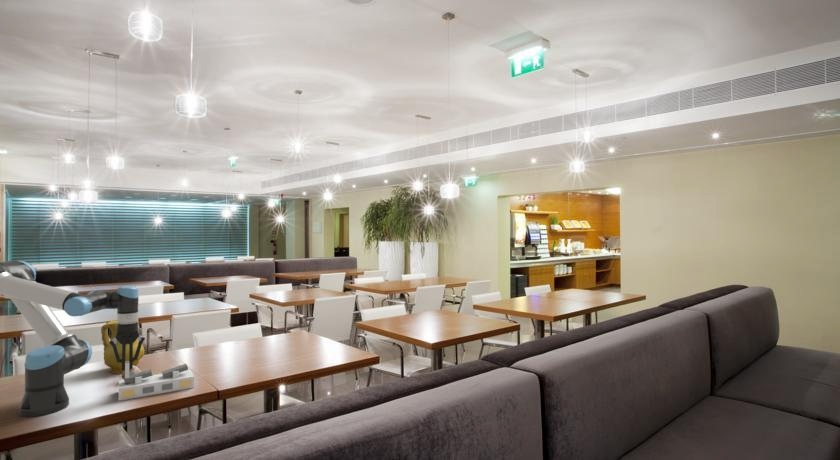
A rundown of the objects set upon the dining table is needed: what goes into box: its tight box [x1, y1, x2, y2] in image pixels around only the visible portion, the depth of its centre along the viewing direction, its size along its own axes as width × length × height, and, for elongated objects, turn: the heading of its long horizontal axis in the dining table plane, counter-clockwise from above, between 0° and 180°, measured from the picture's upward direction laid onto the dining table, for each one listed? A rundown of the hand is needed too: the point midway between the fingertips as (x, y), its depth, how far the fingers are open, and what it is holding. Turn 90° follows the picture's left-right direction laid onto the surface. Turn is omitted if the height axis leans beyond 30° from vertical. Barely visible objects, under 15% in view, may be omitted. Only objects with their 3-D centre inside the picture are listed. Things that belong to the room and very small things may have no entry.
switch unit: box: [118, 366, 195, 401], centre depth 193 cm, size 28×12×8 cm, turn 125°
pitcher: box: [100, 319, 145, 374], centre depth 221 cm, size 17×19×25 cm
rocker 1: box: [123, 369, 153, 384], centre depth 189 cm, size 10×5×2 cm, turn 124°
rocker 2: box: [161, 363, 189, 378], centre depth 197 cm, size 10×5×2 cm, turn 124°
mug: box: [121, 365, 143, 380], centre depth 205 cm, size 8×10×10 cm
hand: (127, 377), depth 187 cm, fingers closed
